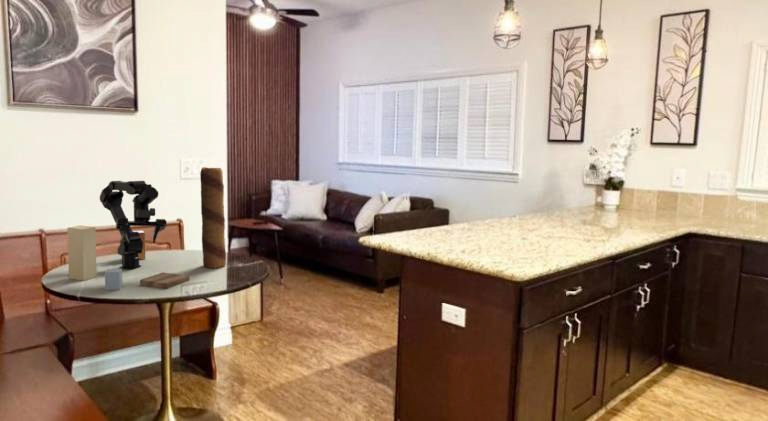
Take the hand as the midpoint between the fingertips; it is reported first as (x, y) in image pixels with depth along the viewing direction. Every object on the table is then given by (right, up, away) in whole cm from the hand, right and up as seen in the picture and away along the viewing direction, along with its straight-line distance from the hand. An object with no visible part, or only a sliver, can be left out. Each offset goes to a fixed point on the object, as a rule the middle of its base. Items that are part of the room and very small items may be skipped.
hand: (141, 243), depth 220 cm
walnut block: (+11, -16, -4) cm, 20 cm away
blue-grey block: (-4, -16, -14) cm, 22 cm away
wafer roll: (+22, -12, +25) cm, 35 cm away
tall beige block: (-23, -14, -1) cm, 27 cm away
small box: (-18, -10, +34) cm, 40 cm away
